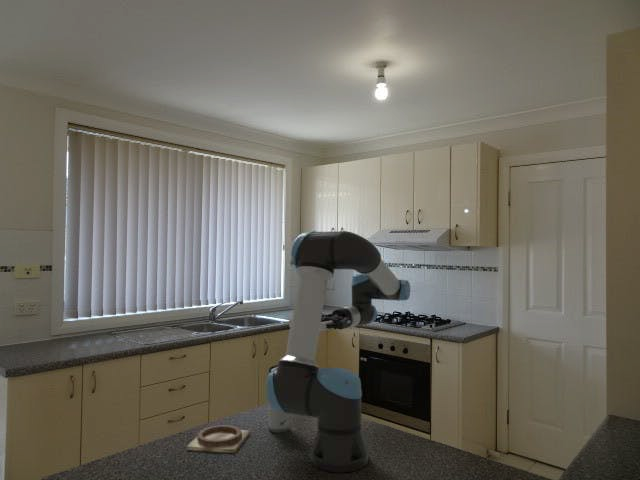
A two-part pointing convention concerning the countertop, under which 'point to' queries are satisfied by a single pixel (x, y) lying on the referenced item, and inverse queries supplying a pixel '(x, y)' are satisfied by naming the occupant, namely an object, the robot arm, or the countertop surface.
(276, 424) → the travel mug
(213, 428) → the mug stand
